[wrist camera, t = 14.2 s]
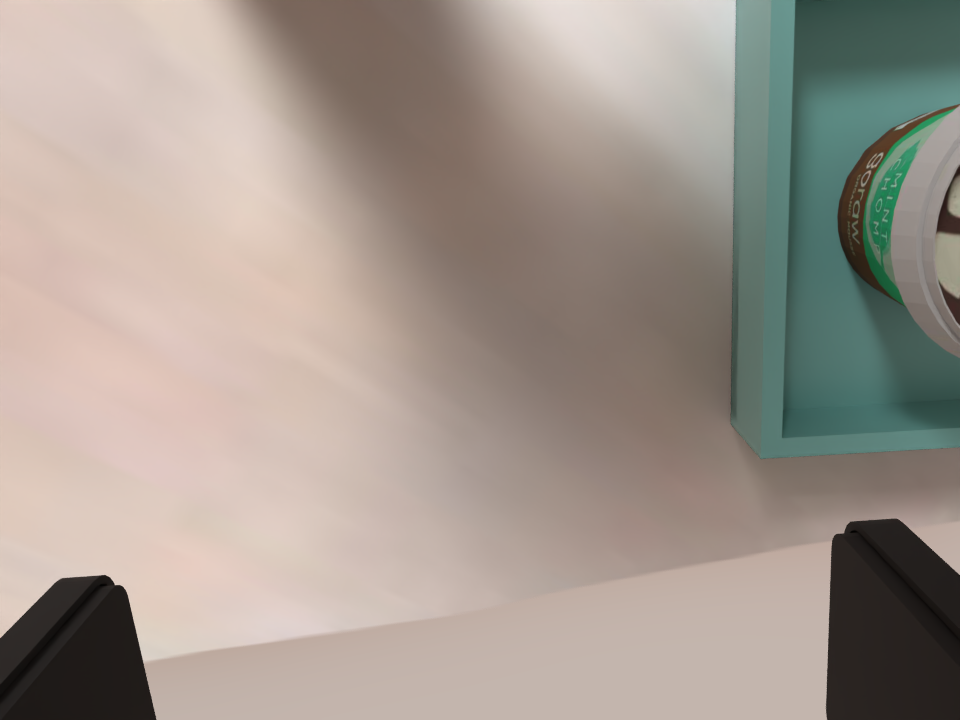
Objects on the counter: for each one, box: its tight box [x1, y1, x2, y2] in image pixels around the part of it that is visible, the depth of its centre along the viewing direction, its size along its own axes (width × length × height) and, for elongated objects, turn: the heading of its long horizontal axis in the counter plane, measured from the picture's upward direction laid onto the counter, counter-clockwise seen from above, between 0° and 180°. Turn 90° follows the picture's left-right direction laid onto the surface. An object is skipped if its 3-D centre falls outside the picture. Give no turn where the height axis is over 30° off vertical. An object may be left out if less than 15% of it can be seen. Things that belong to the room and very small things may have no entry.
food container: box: [837, 104, 960, 358], centre depth 34 cm, size 12×6×10 cm, turn 4°
